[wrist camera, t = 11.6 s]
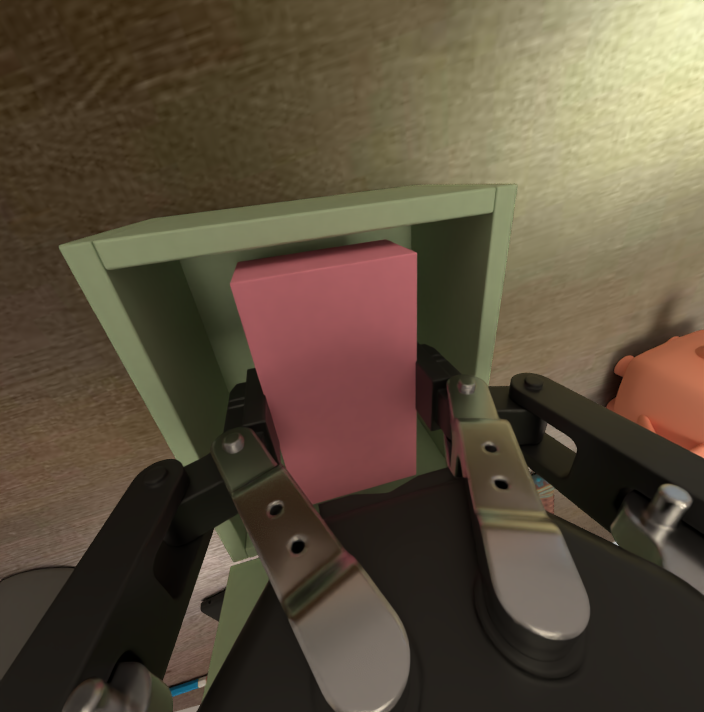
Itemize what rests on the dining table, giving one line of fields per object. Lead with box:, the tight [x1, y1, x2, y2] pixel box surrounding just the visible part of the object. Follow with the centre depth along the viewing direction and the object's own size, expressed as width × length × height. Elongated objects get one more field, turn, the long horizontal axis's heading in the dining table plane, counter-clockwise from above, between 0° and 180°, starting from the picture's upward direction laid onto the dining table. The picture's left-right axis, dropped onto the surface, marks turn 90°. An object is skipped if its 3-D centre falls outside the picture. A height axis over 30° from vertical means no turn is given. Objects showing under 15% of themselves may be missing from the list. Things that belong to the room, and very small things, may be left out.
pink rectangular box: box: [230, 239, 417, 504], centre depth 13 cm, size 10×6×3 cm, turn 6°
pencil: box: [169, 676, 207, 697], centre depth 35 cm, size 1×17×1 cm, turn 93°
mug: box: [0, 568, 75, 681], centre depth 20 cm, size 14×9×12 cm
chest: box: [59, 184, 518, 562], centre depth 16 cm, size 16×14×8 cm
